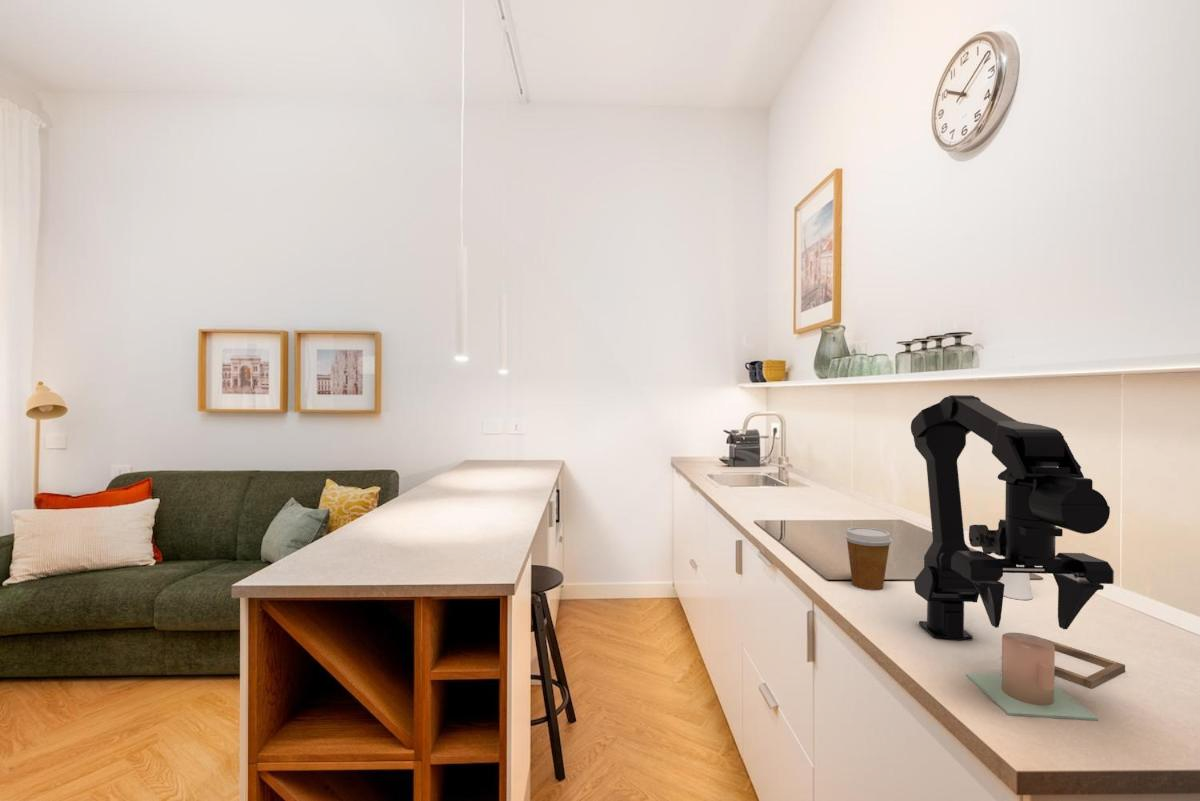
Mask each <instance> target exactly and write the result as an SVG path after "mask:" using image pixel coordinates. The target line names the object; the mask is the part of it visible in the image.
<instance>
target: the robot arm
mask: <svg viewBox="0 0 1200 801" xmlns="http://www.w3.org/2000/svg"><path fill="white" fill-rule="evenodd" d="M971 432H972V433H973V434H975V435H977V436H978V437H980V438H981V439H983V440H984V441H986V442H988V444H989V445H991V454H992V456H993V457H995V458H996V459H997V460H998V461H999V462H1000V463H1001V465H1002V466H1004V467H1005V470H1003V471H1000V473H999V474H998V475H997V479H998V480H1000V481H1005V506H1004V507H1005V516H1004V518H1005V519H999V522H998V523H997V524H998V526H997V527H998V528H997V529H995V530H994V529H989V528H988V526H987V525H986V524H971V525H969V530H968V541H969V545H971V547H972V548H981V550H980V551H979V550H971V548H969V546H968V545H967V544H966V541H965V532H964V522H963V521H964V520H963V510H962V499H961V490H960V489H961V488H960V478H959V477H960V476H959V469H958V468H959V467H958V459H959V457H960V456H961V454H962V453H963V451H964V449H965V447H966V445H967V435H969V433H971ZM910 433H911V435H912V436H913V437H912V438H913V442H914V447H915V449H916V450H917V451H918V453H919V454H920V455H921V456H922V458H923V459H924V460H925V464H926V474H927V485H928V486H927V488H928V497H929V498H928V499H929V509H930V521H931V531H932V542H931V544H930V546H929V547H928V549H927V551H926V553H925V554H924V556H923V568H922V570H921V571H920V572H919V574H918V575H917V576H916V577H915V579H914V580H913V583H914V584H913V585H914V591H915V594H917V596H920V597H921V598H922V599H923V600H925V601H926V620H925V621H923V620H920V621H919V622H918V624H919V626H921V627H922V628H923V630H925V631H926V632H927V633H928V634H930V636H932V637H933V638H936V639H949V640H950V639H953V640H954V639H955V640H973V639H974V636H973V635H972V634H971V633H969V632H968V631H967V630H965V602H966V603H967V602H968V603H978V600H979V596H980V598H981V601H982V604H983V607H984V609H985V612H986V614H987V617H988V619H989V622H990V624H991V626H993V628H997V629H998V628H999V627H1000V624H1001V619H1002V611H1003V601H1004V596H1003V595H1004V586H1005V585H1004V584H1003V583H1001V582H1000V579H1001V577H1002V576H1003V573H1029V574H1050V575H1051V574H1052V576H1053V578H1054V580H1055V583H1056V585H1057V621H1058V627H1059V628H1060V629H1062V630H1068V629H1069V627H1070V626H1071V625H1072V623H1073V622H1074V620H1075V619H1076V617H1077V616H1078V614H1079V613H1080V612H1081V610H1082V608H1084V606H1085V605H1086V604H1087V603H1088V602H1089V600H1090V599H1091V598H1092V597H1093V596H1094V595H1095V594H1096V593H1097V592H1098V591H1102V590H1104V589H1105V586H1104V585H1113V584H1114V583H1115V582H1114V581H1115V578H1114V577H1115V575H1114V574H1115V571H1114V569H1113V567H1112V566H1111V564H1110V563H1109V561H1107V560H1104V559H1102V558H1098V557H1096V556H1092V555H1090V554H1089V555H1088V554H1087V553H1084V552H1058V553H1057V554H1056V537H1063V529H1065V530H1069V531H1072V532H1075V533H1078V534H1082V535H1088V534H1094V533H1096V532H1098V531H1100V530H1102V529H1103V527H1104V526H1105V525H1106V524H1107V523H1108V521H1109V519H1110V514H1111V507H1110V506H1109V504H1108V502H1107V501H1108V500H1106V498H1105V496H1103V494H1102V493H1101V492H1100V491H1098V490H1097V489H1094V488H1093V485H1094V484H1093V479H1092V478H1087V477H1085V476H1084V474H1083V472H1082V470H1081V469H1082V466H1081V465H1080V464H1079V462H1078V461H1077V460H1076V459H1075V456H1074V453H1072V450H1071V448H1070V446H1069V444H1068V443H1067V441H1066V439H1065V436H1064V435H1063V433H1062V432H1061V431H1060V430H1058V429H1057V428H1053V427H1049V426H1046V425H1041V424H1036V423H1031V422H1030V423H1028V422H1022V421H1019V420H1016V419H1014V418H1013V417H1010V416H1009V415H1007V414H1005V413H1003V412H1002V411H1000V410H998V409H996V408H994V407H992V406H990V405H989V404H987V403H985V402H984V401H982V400H981V398H979V397H978V396H975V395H973V394H972V395H971V394H970V395H969V394H966V395H965V394H964V395H962V394H961V395H960V394H958V395H957V394H956V395H955V394H952V395H948V396H945V397H943V399H941V400H940V401H939V402H937V403H935V404H933V405H930V406H928V407H926V408H923V409H922V410H921V411H919V413H917V414H916V416H914V418H913V419H912V420H911V424H910ZM991 554H995V555H997V556H999V557H1003V556H1004V557H1005V559H1003V558H997V557H994V556H992V555H991ZM1016 565H1019V566H1020V565H1021V566H1023V565H1024V567H1017V566H1016Z"/></svg>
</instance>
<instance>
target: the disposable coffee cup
mask: <svg viewBox="0 0 1200 801" xmlns="http://www.w3.org/2000/svg"><path fill="white" fill-rule="evenodd" d="M890 535H891V534H890V532H888V531H887V530H884V529H880V528H873V527H867V526H866V527H864V526H863V527H862V526H858V527H857V526H856V527H849V528H847V529H846V532H845V534H844V537H845V540H846V542H847V550H848V553H847V554H848V559H849V567H850V576H851V584H852V585H853V586H855V587H856V586H857V587H856V588H859V587H860V589H862V588H864V589H863V590H868V589H871V590H872V591H877V590H878V589H879V590H881V589H884V583H885V577H886V570H887V563H888V557H889V549H890V545H891V542H892V541H893V539H892V538H891V536H890ZM873 589H874V590H873ZM871 590H870V591H871Z"/></svg>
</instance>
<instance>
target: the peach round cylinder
mask: <svg viewBox="0 0 1200 801" xmlns="http://www.w3.org/2000/svg"><path fill="white" fill-rule="evenodd" d="M1043 638H1044V637H1041V636H1040V637H1039V636H1036V635H1032V634H1028V633H1024V632H1023V633H1022V632H1006V633H1005V632H1004V633H1003V634H1002V635H1001V675H1002V690H1003V692H1004V693H1006V694H1007V695H1008V696H1010V697H1012V698H1014V699H1016V700H1019V701H1022V702H1025V703H1029V704H1034V705H1050V704H1053V703H1054V685H1055V675H1054V672H1055V666H1056V663H1055V660H1056V658H1055V657H1056V656H1055V655H1056V650H1055V646H1054V644H1052V643H1051V642H1050V641H1051V640H1050V641H1048V640H1049V639H1047V638H1044V639H1043ZM1046 639H1047V640H1046Z"/></svg>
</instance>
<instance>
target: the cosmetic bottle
mask: <svg viewBox="0 0 1200 801" xmlns="http://www.w3.org/2000/svg"><path fill="white" fill-rule="evenodd" d="M1002 559H1005V557H1004V556H1002ZM1016 566H1017V567H1024V565H1023V566H1021V565H1020V566H1019V565H1016ZM999 582H1001V583H1003V584H1004V585H1005V586H1004V595H1003V597H1005V598H1008V599H1012V600H1021V601H1030V600H1032V599H1033V598H1034V596H1033V592H1032V591H1033V590H1032V586H1031V578H1030V573H1003V576H1002V577H1001V578H1000V579H999Z"/></svg>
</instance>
